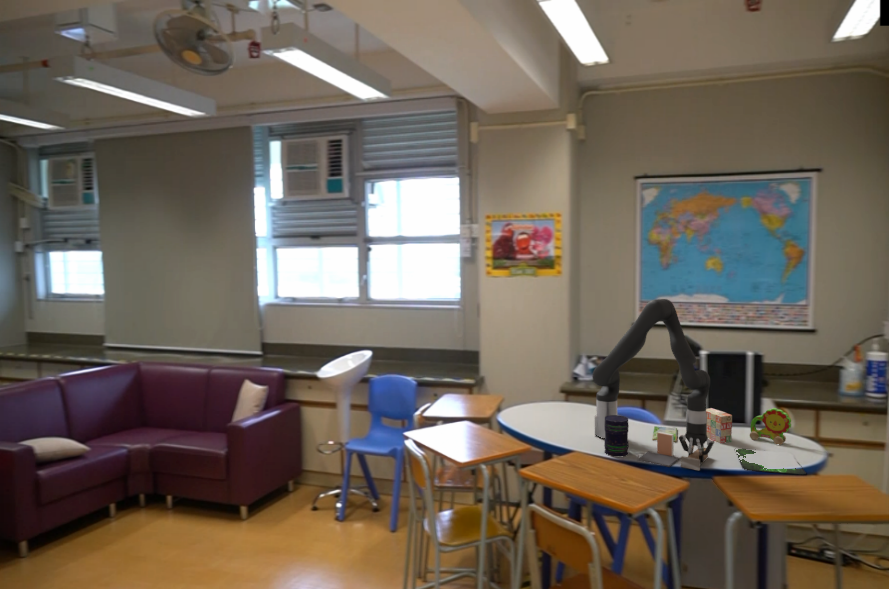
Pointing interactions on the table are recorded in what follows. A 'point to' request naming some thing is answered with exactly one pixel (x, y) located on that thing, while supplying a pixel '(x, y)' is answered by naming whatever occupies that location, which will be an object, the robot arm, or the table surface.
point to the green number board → (665, 430)
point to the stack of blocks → (719, 425)
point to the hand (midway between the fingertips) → (696, 462)
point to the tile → (665, 443)
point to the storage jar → (616, 435)
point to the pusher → (692, 460)
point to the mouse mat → (760, 468)
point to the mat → (658, 459)
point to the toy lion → (772, 426)
